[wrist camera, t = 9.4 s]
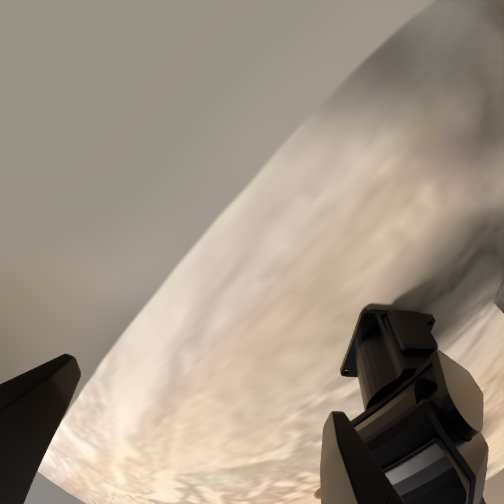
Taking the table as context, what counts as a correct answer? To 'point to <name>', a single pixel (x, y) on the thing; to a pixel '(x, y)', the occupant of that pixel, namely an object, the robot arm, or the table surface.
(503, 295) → the egg carton
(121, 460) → the table surface
